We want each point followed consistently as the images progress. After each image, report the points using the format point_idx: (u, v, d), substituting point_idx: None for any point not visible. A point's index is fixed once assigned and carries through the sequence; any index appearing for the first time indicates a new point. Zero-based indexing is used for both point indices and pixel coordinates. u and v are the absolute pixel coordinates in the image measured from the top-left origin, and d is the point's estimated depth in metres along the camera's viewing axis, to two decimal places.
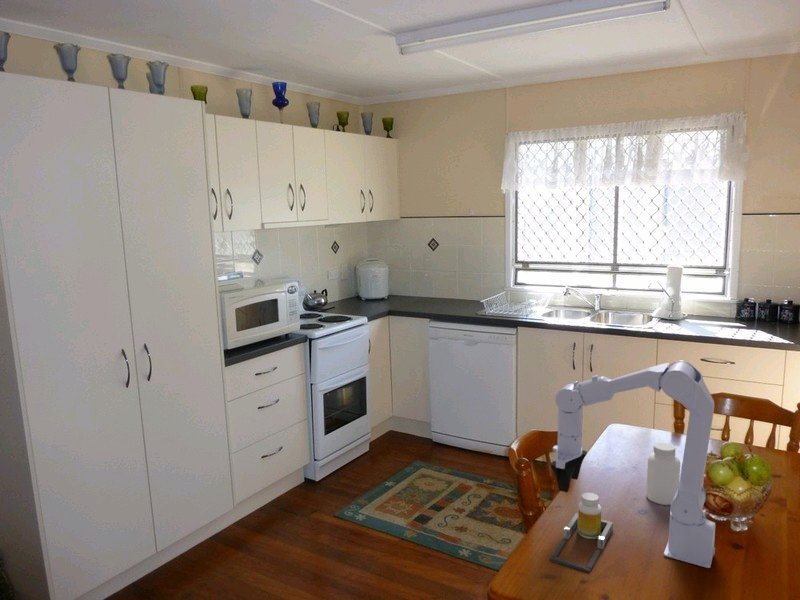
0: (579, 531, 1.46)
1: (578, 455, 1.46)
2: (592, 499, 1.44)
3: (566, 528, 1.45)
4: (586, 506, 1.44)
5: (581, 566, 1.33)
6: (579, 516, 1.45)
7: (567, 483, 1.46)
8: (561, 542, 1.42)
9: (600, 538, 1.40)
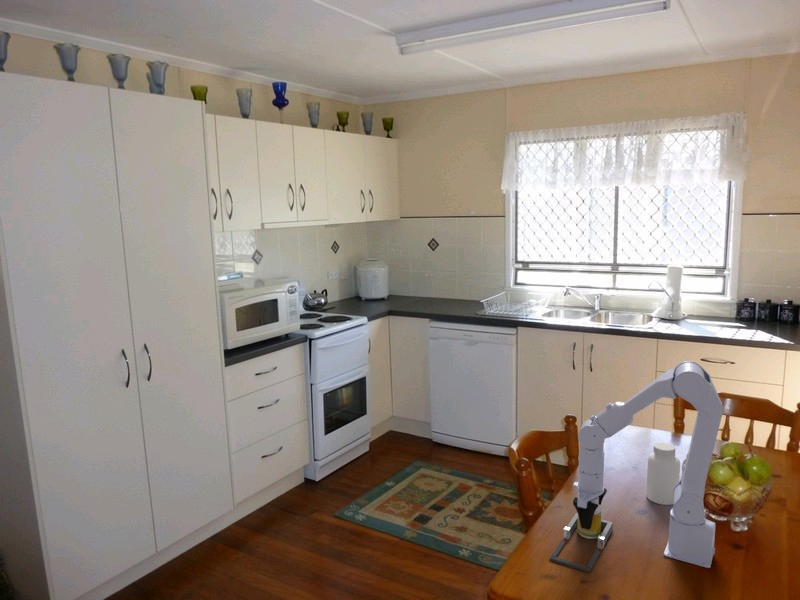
0: (579, 531, 1.46)
1: (600, 493, 1.42)
2: (592, 499, 1.44)
3: (566, 528, 1.45)
4: None
5: (581, 566, 1.33)
6: None
7: (589, 520, 1.42)
8: (561, 542, 1.42)
9: (600, 538, 1.40)
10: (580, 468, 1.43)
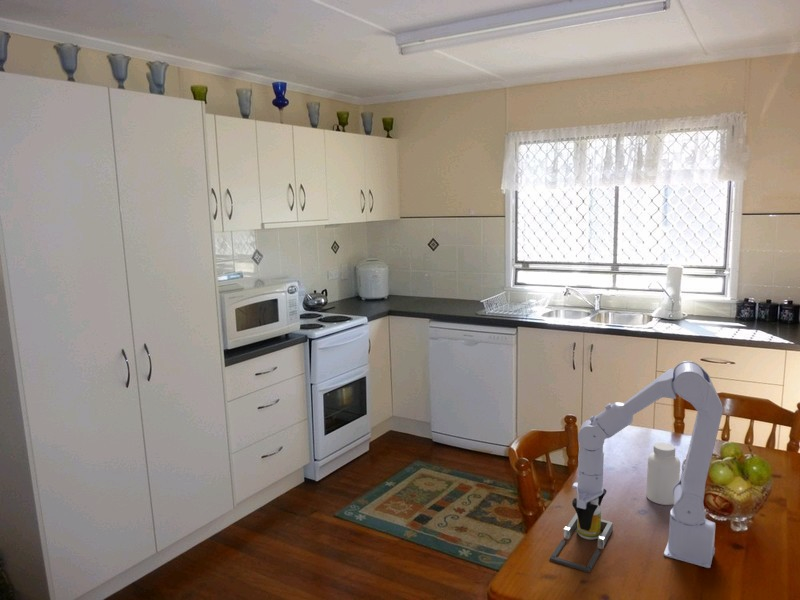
0: (579, 532, 1.46)
1: (599, 494, 1.42)
2: None
3: (566, 528, 1.45)
4: None
5: (581, 566, 1.33)
6: None
7: (589, 521, 1.42)
8: (561, 542, 1.42)
9: (600, 538, 1.40)
10: (580, 469, 1.43)
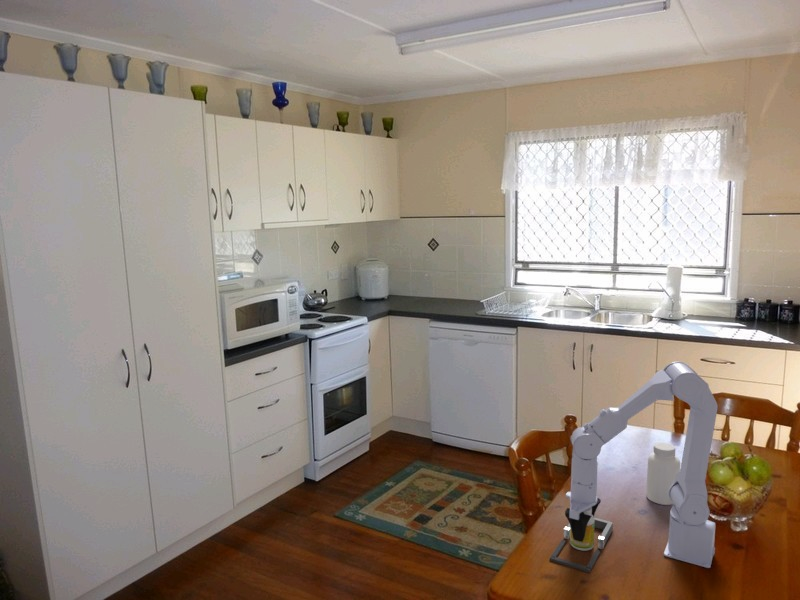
0: (571, 542, 1.41)
1: (593, 504, 1.37)
2: None
3: (566, 528, 1.45)
4: None
5: (581, 566, 1.33)
6: None
7: (582, 532, 1.37)
8: (561, 542, 1.42)
9: (600, 538, 1.40)
10: (574, 479, 1.38)
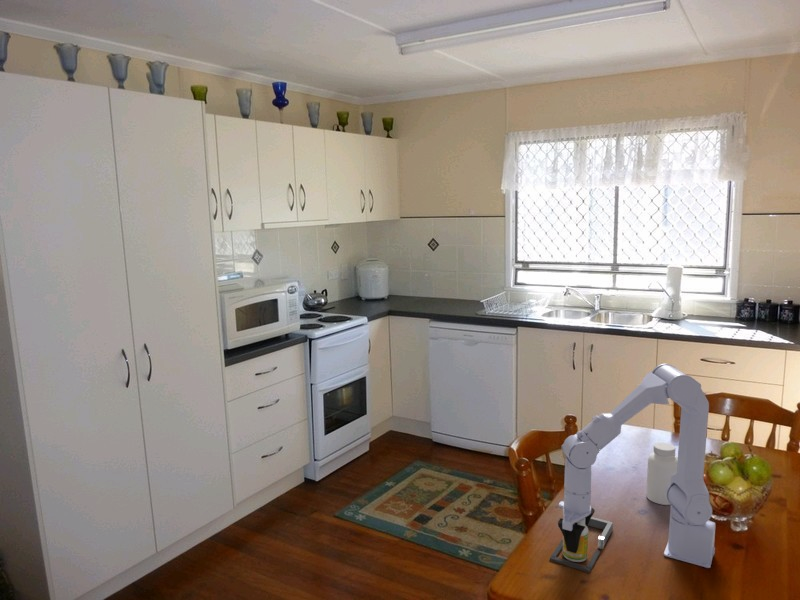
0: (564, 553, 1.37)
1: (587, 514, 1.33)
2: None
3: None
4: None
5: (581, 566, 1.33)
6: None
7: (576, 543, 1.33)
8: (561, 542, 1.42)
9: (600, 538, 1.40)
10: (569, 489, 1.33)
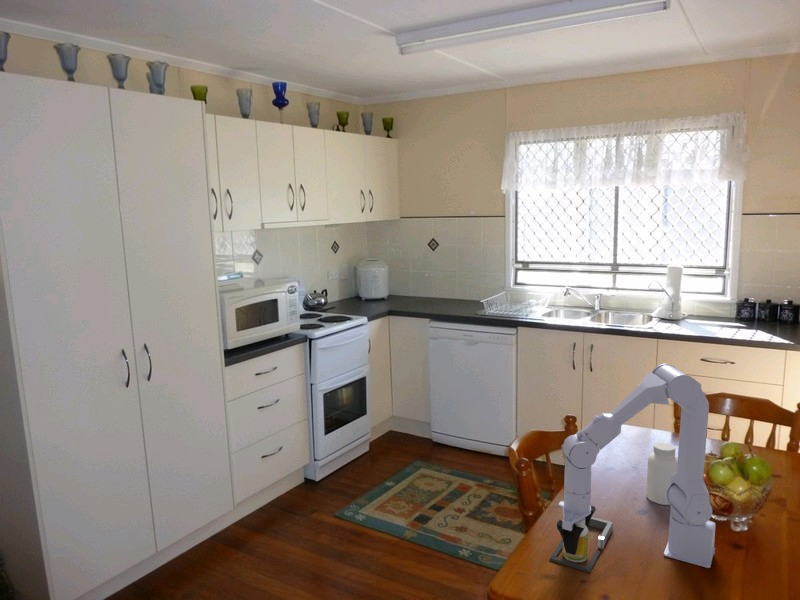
0: (564, 554, 1.37)
1: (587, 514, 1.33)
2: None
3: None
4: None
5: (581, 566, 1.33)
6: None
7: (574, 545, 1.33)
8: (561, 542, 1.42)
9: (600, 538, 1.40)
10: (569, 489, 1.33)
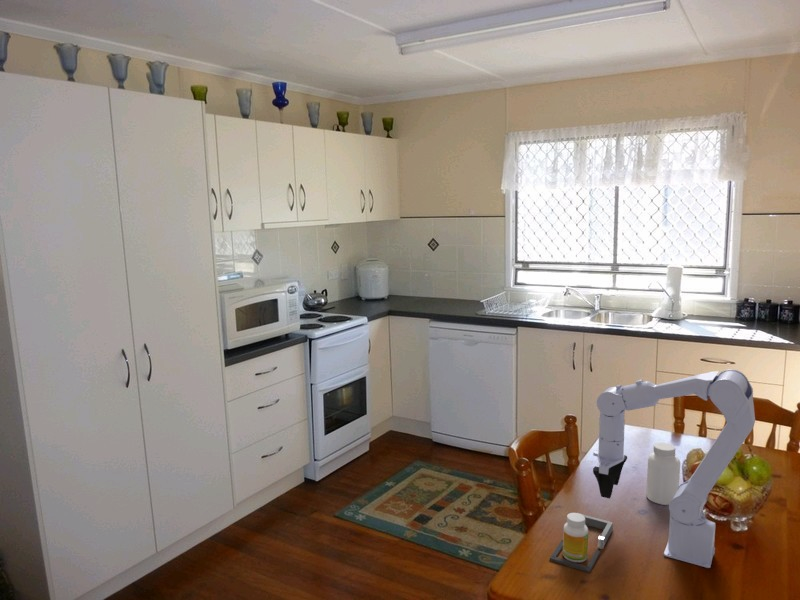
0: (564, 554, 1.37)
1: (621, 460, 1.42)
2: (578, 520, 1.35)
3: None
4: (572, 527, 1.35)
5: (581, 566, 1.33)
6: (564, 538, 1.36)
7: (610, 489, 1.42)
8: (561, 542, 1.42)
9: (600, 538, 1.40)
10: (599, 434, 1.44)
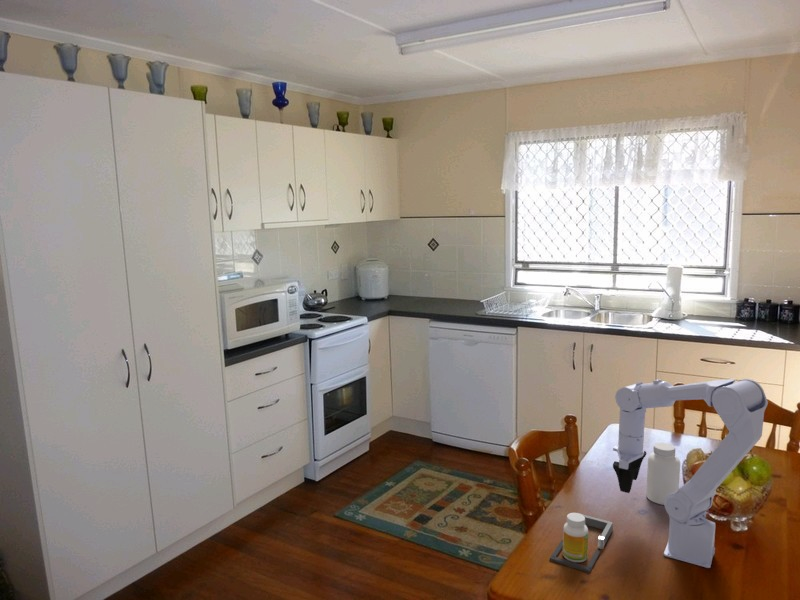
0: (564, 554, 1.37)
1: (640, 455, 1.45)
2: (578, 520, 1.35)
3: None
4: (572, 527, 1.35)
5: (581, 566, 1.33)
6: (564, 538, 1.36)
7: (629, 484, 1.44)
8: (561, 542, 1.42)
9: (600, 538, 1.40)
10: (619, 429, 1.47)
